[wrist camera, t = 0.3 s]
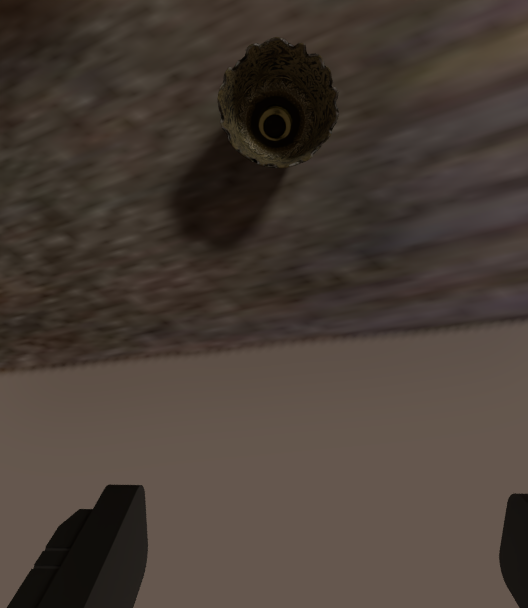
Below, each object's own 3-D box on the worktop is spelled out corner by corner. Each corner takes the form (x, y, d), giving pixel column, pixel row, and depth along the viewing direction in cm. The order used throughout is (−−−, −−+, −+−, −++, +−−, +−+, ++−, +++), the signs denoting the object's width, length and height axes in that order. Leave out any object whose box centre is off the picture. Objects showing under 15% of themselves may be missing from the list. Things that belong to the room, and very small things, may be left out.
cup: (270, 195, 37) (273, 192, 29) (207, 123, 35) (192, 100, 28) (341, 129, 36) (364, 108, 28) (278, 53, 34) (283, 9, 27)
